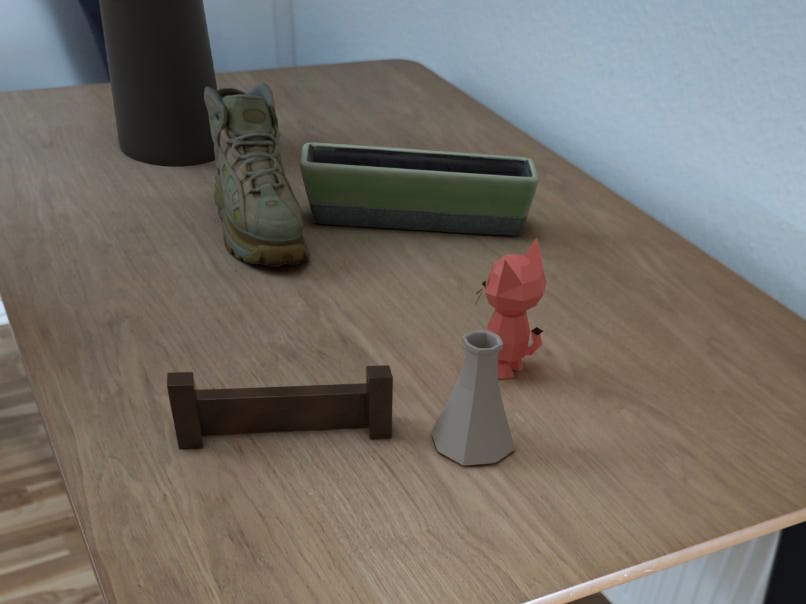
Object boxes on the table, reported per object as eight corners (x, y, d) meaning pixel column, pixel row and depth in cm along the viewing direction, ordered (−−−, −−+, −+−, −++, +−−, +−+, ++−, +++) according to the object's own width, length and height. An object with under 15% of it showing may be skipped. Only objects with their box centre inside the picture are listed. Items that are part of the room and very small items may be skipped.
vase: (245, 155, 119) (217, -128, 98) (149, 173, 112) (97, -127, 91) (195, 122, 125) (159, -150, 104) (102, 137, 119) (43, -150, 97)
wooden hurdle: (178, 449, 74) (166, 385, 70) (179, 425, 77) (167, 363, 72) (391, 438, 78) (393, 377, 74) (386, 416, 80) (387, 356, 76)
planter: (525, 217, 113) (533, 156, 108) (531, 242, 108) (540, 179, 103) (306, 203, 110) (303, 140, 105) (302, 228, 105) (298, 163, 100)
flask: (484, 412, 82) (495, 310, 75) (529, 454, 78) (545, 351, 71) (416, 431, 79) (421, 327, 72) (459, 476, 75) (468, 371, 68)
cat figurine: (494, 343, 91) (507, 224, 82) (553, 365, 89) (572, 246, 80) (458, 371, 87) (467, 249, 78) (519, 396, 85) (536, 273, 76)
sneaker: (209, 273, 95) (203, 119, 85) (208, 203, 108) (203, 61, 97) (311, 281, 98) (318, 133, 87) (299, 212, 111) (303, 75, 100)
